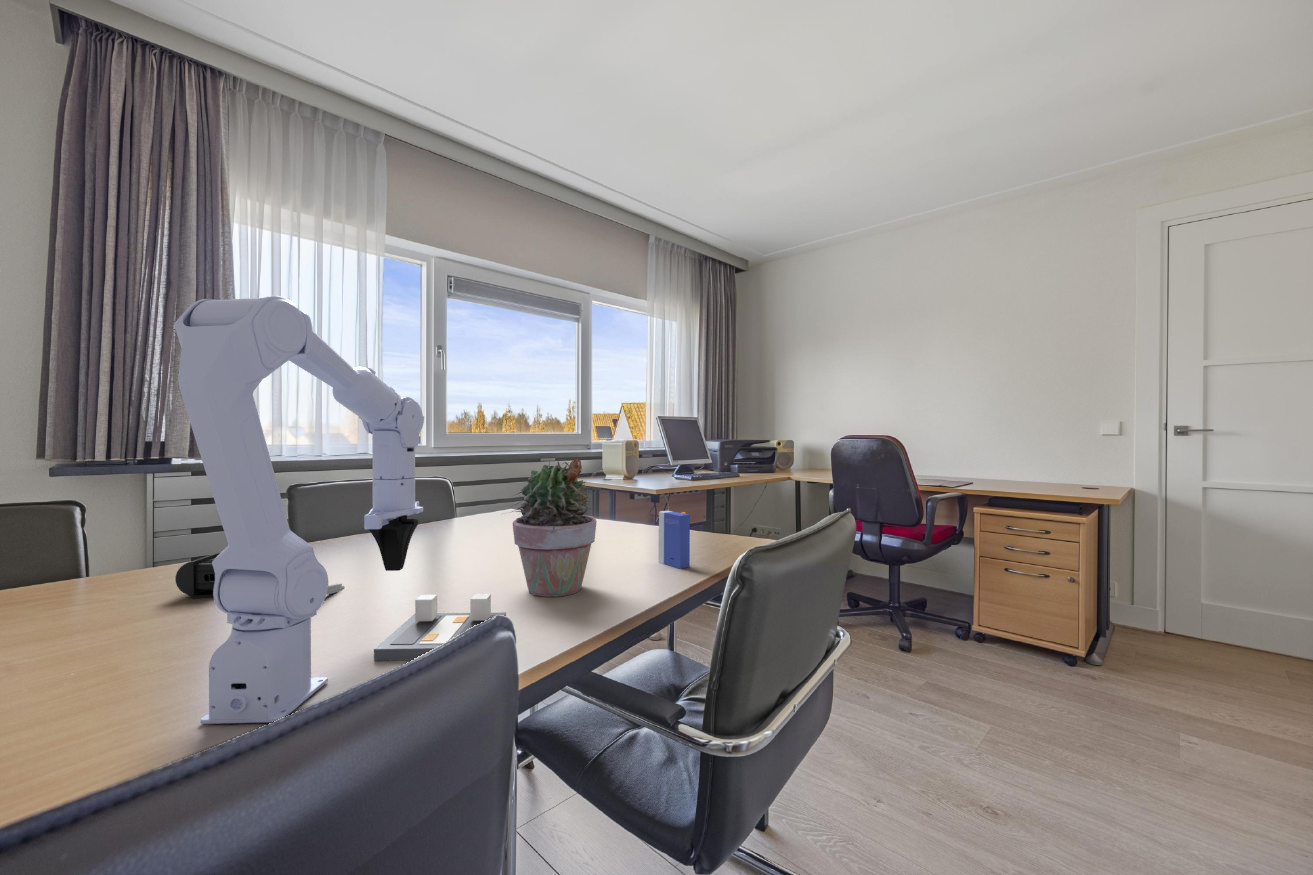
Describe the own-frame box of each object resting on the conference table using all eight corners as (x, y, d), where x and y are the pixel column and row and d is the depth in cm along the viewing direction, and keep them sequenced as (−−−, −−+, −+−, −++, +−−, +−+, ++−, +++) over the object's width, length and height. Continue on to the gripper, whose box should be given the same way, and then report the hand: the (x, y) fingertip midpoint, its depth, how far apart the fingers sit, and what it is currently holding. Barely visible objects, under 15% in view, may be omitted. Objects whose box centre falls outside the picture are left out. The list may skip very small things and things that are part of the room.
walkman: (689, 567, 122) (690, 513, 122) (680, 569, 120) (680, 514, 120) (667, 560, 128) (667, 508, 128) (658, 562, 127) (658, 509, 127)
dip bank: (482, 658, 73) (482, 645, 73) (373, 660, 72) (373, 647, 72) (506, 621, 87) (506, 611, 87) (415, 623, 86) (415, 612, 86)
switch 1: (431, 621, 82) (431, 599, 82) (415, 621, 81) (415, 599, 81) (437, 615, 84) (437, 594, 84) (421, 615, 84) (421, 594, 84)
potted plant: (530, 572, 117) (530, 454, 116) (616, 581, 111) (616, 456, 110) (477, 597, 99) (477, 458, 99) (575, 608, 93) (576, 461, 93)
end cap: (212, 584, 107) (212, 549, 107) (252, 583, 108) (252, 548, 108) (174, 600, 97) (174, 562, 97) (218, 599, 98) (218, 561, 98)
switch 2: (486, 620, 82) (486, 598, 82) (470, 620, 82) (470, 599, 82) (490, 614, 84) (490, 594, 84) (474, 615, 84) (474, 594, 84)
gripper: (401, 482, 75) (401, 582, 75) (438, 474, 89) (438, 557, 89) (348, 482, 74) (348, 583, 74) (393, 474, 89) (393, 558, 89)
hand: (394, 569), depth 82 cm, fingers closed
